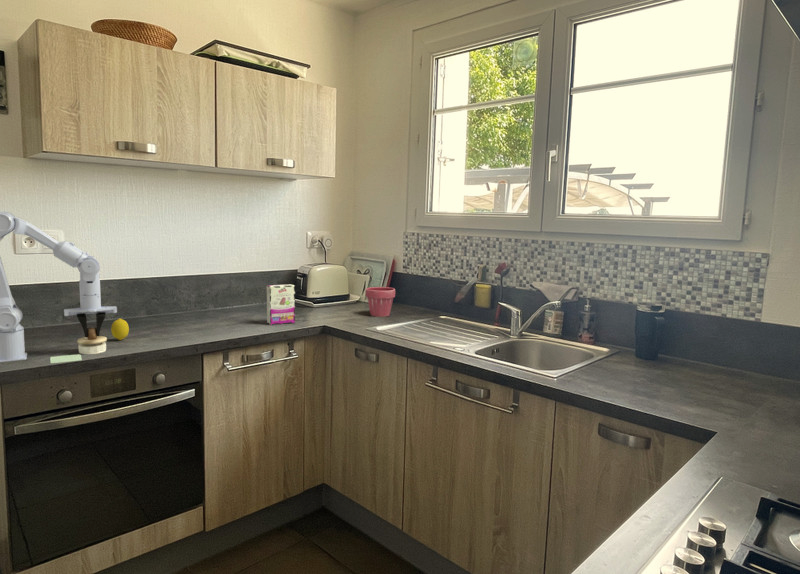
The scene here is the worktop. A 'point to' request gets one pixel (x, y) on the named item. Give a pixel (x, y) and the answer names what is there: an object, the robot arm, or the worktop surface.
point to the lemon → (120, 329)
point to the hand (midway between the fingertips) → (92, 336)
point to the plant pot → (380, 300)
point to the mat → (65, 358)
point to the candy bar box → (280, 304)
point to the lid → (92, 337)
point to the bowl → (92, 348)
